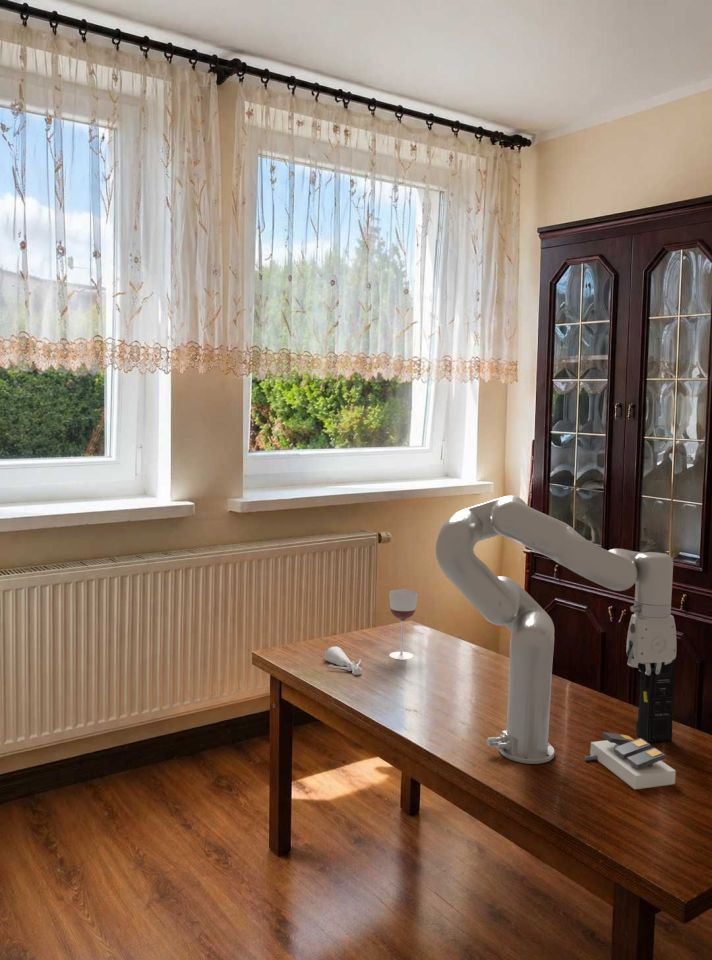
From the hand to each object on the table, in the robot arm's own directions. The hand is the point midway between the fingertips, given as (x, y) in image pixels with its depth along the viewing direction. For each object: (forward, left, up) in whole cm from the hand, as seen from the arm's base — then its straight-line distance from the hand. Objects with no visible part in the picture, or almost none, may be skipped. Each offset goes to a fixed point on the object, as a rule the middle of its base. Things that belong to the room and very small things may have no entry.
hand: (648, 690), depth 185 cm
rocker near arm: (-3, +5, -14) cm, 16 cm away
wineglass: (-27, +84, -18) cm, 90 cm away
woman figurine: (-47, +79, -19) cm, 94 cm away
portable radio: (+12, +13, -18) cm, 26 cm away
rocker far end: (-3, -5, -14) cm, 15 cm away
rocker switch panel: (-4, 0, -18) cm, 19 cm away
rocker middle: (-3, 0, -14) cm, 15 cm away
